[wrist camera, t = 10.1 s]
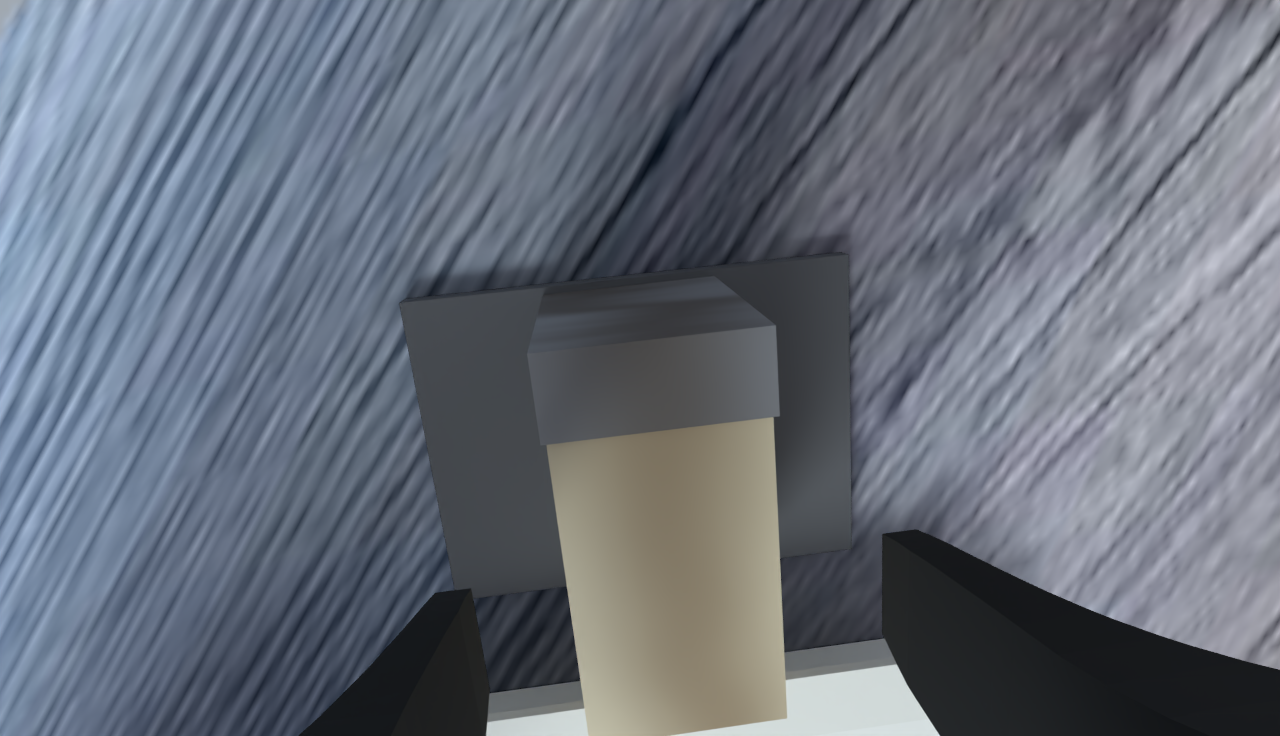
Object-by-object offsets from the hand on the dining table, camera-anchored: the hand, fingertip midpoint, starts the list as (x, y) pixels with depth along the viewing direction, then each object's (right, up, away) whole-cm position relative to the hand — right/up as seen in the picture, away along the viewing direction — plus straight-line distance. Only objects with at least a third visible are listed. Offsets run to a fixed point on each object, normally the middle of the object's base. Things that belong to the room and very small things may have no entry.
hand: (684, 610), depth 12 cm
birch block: (-1, +2, +8) cm, 8 cm away
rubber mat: (-1, +2, +8) cm, 9 cm away
